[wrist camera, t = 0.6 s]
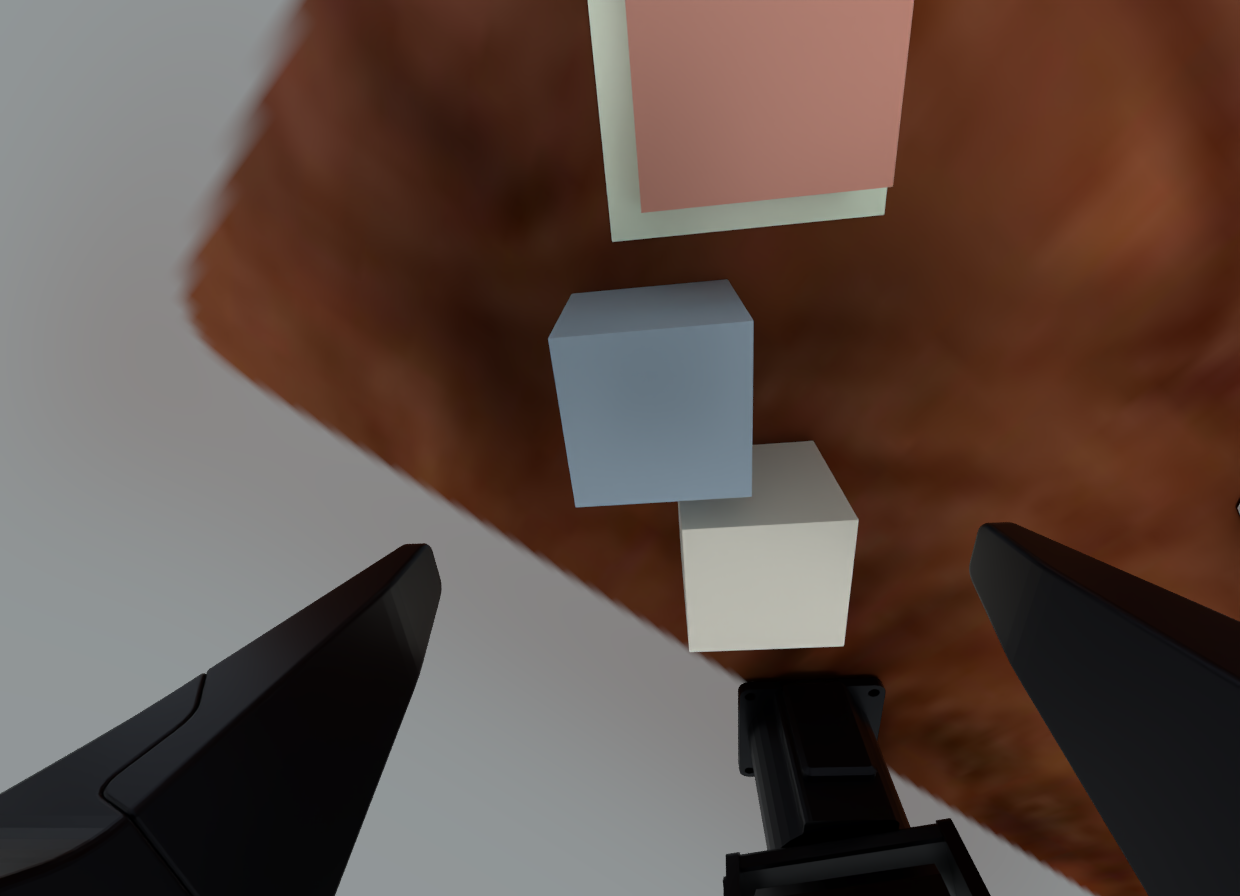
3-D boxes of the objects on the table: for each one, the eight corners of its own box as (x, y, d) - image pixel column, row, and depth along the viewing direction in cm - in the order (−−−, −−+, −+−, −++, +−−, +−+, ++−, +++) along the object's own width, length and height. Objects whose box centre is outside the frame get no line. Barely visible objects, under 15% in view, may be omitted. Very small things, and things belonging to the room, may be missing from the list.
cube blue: (728, 420, 20) (751, 496, 16) (591, 430, 21) (575, 507, 16) (727, 278, 18) (753, 320, 13) (572, 293, 18) (548, 338, 14)
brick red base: (852, 180, 16) (892, 186, 13) (642, 202, 17) (641, 213, 14) (875, -100, 13) (932, -163, 11) (622, -63, 14) (616, -114, 11)
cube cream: (805, 549, 23) (843, 646, 18) (681, 556, 23) (689, 652, 19) (812, 439, 20) (858, 520, 16) (674, 449, 21) (681, 529, 16)
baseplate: (880, 213, 17) (884, 215, 16) (612, 240, 17) (612, 241, 17) (920, -160, 13) (925, -165, 13) (577, -107, 14) (576, -112, 13)
